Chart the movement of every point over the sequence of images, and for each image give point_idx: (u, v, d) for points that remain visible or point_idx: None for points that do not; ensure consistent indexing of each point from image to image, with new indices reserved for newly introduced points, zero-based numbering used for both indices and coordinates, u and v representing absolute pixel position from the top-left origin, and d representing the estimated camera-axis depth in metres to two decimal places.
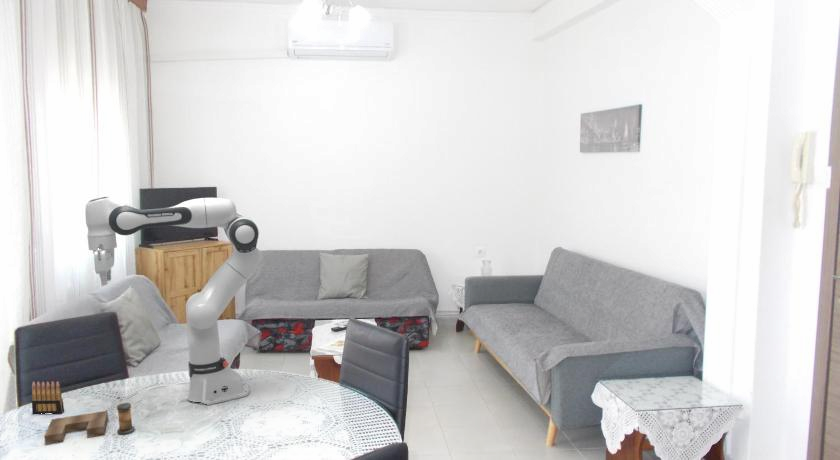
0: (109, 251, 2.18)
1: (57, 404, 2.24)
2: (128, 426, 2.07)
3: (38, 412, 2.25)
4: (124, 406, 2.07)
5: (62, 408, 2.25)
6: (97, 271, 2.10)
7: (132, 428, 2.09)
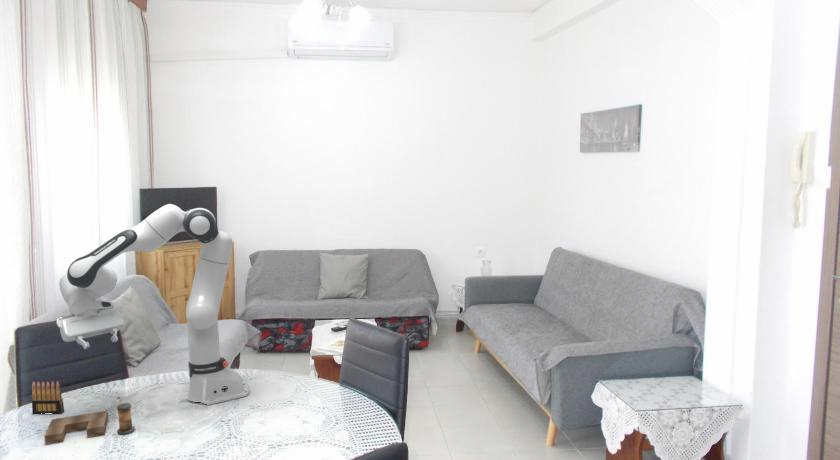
0: (84, 315, 2.14)
1: (57, 404, 2.24)
2: (128, 426, 2.07)
3: (38, 412, 2.25)
4: (124, 406, 2.07)
5: (62, 408, 2.25)
6: (64, 339, 2.08)
7: (132, 428, 2.09)
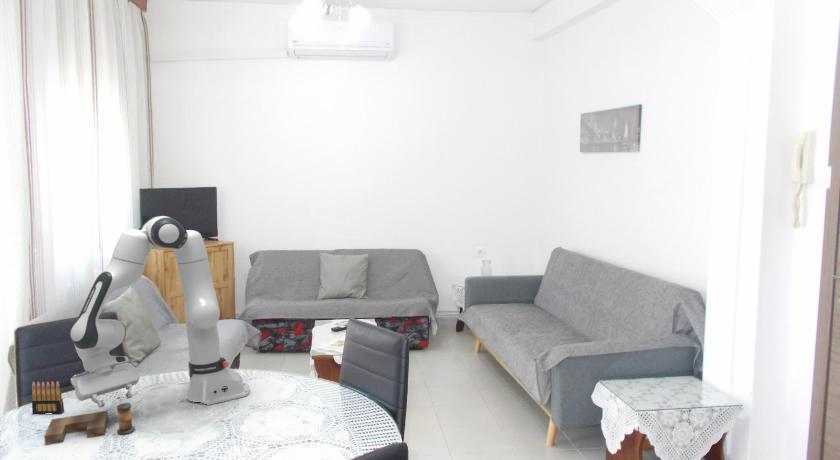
0: (98, 372, 2.12)
1: (57, 404, 2.24)
2: (128, 426, 2.07)
3: (38, 412, 2.25)
4: (124, 406, 2.07)
5: (62, 408, 2.25)
6: (78, 398, 2.05)
7: (132, 428, 2.09)
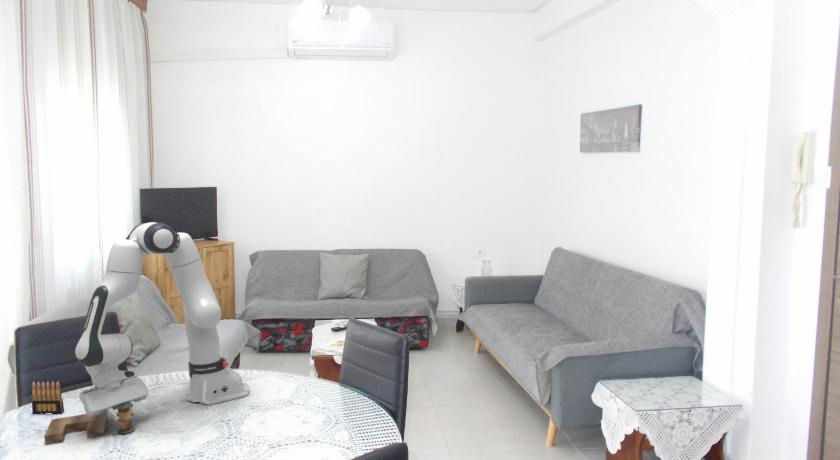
0: (107, 388, 2.09)
1: (57, 404, 2.24)
2: (128, 426, 2.07)
3: (38, 412, 2.25)
4: (124, 406, 2.07)
5: (62, 408, 2.25)
6: (87, 415, 2.03)
7: (132, 428, 2.09)
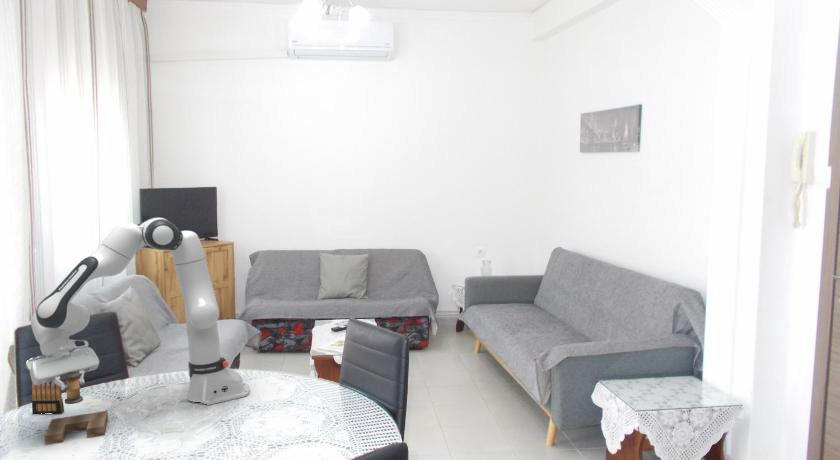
0: (55, 356, 2.05)
1: (57, 404, 2.24)
2: (76, 395, 2.04)
3: (38, 412, 2.25)
4: (72, 375, 2.03)
5: (62, 408, 2.25)
6: (33, 382, 1.99)
7: (80, 398, 2.05)
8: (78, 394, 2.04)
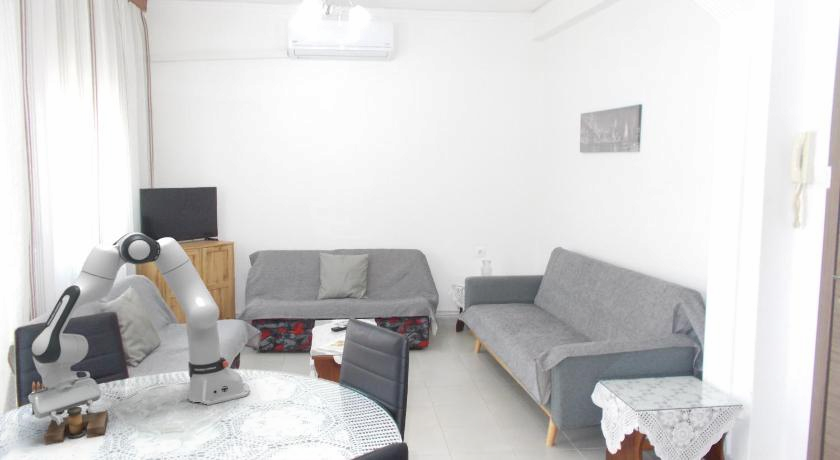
0: (57, 389, 2.07)
1: None
2: (78, 430, 2.05)
3: None
4: (74, 410, 2.05)
5: None
6: (36, 416, 2.00)
7: (83, 432, 2.07)
8: (81, 429, 2.06)
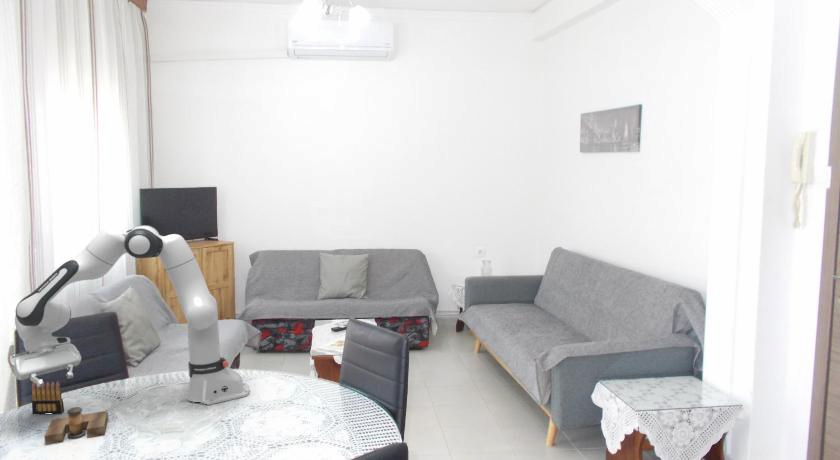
0: (38, 352, 2.13)
1: (57, 404, 2.24)
2: (78, 430, 2.05)
3: (38, 412, 2.25)
4: (74, 410, 2.05)
5: (62, 408, 2.25)
6: (17, 378, 2.07)
7: (83, 432, 2.07)
8: (81, 429, 2.06)
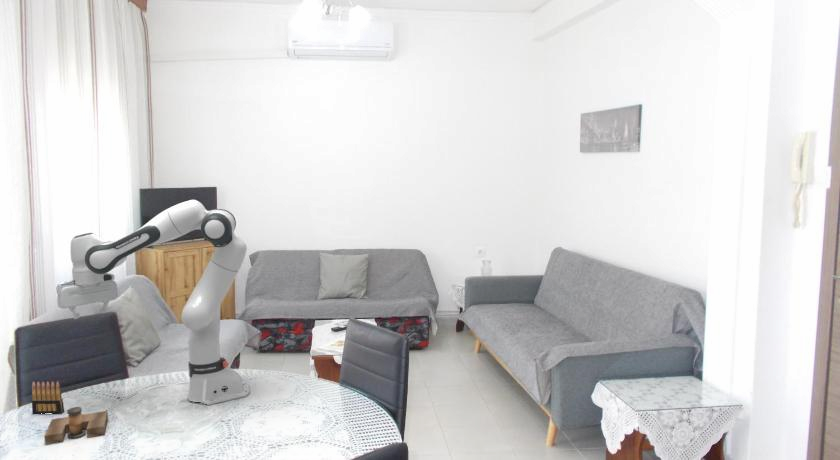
0: (84, 287, 2.23)
1: (57, 404, 2.24)
2: (78, 430, 2.05)
3: (38, 412, 2.25)
4: (74, 410, 2.05)
5: (62, 408, 2.25)
6: (58, 306, 2.20)
7: (83, 432, 2.07)
8: (81, 429, 2.06)
